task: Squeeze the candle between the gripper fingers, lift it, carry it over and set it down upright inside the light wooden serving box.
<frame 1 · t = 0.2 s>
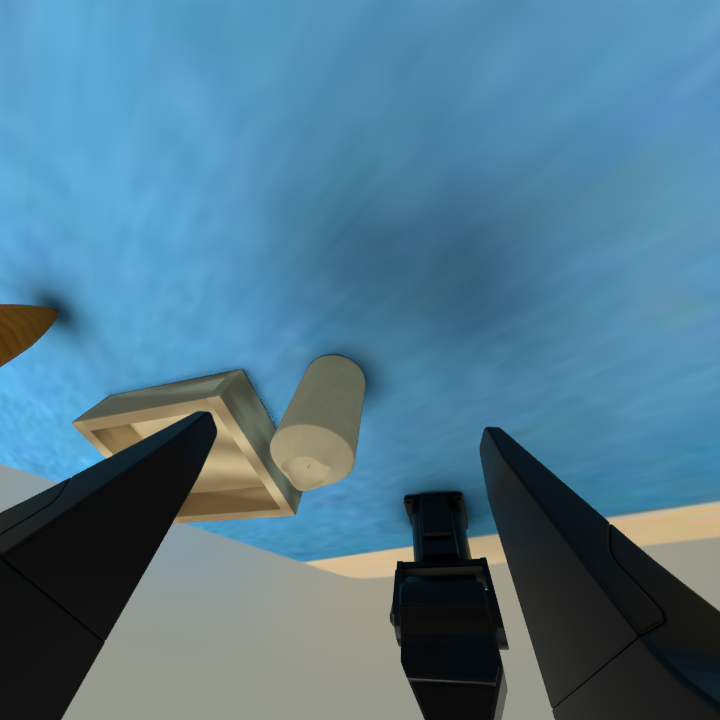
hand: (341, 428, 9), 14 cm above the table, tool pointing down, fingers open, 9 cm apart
carrot: (58, 310, 25), on the table
candle: (335, 379, 26), on the table
serving box: (213, 441, 31), on the table
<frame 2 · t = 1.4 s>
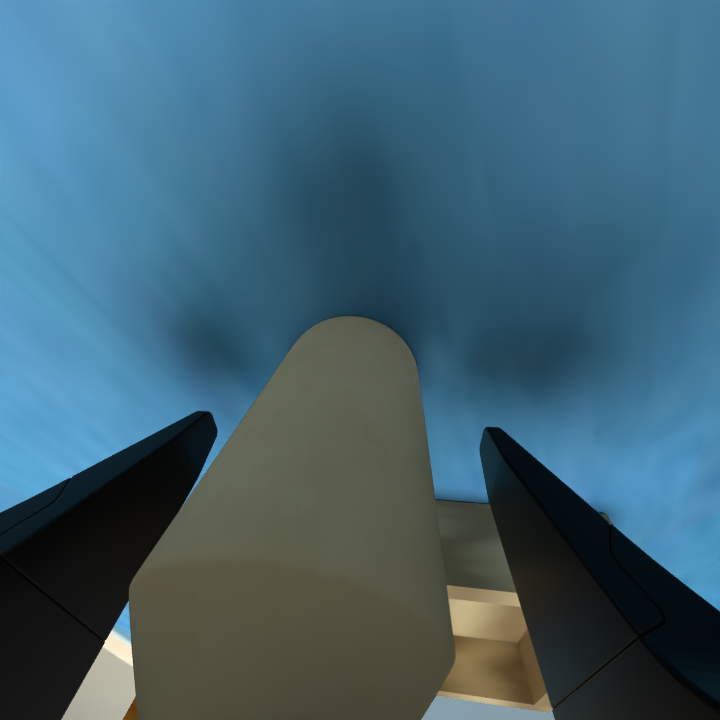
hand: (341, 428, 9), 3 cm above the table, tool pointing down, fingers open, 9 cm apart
candle: (353, 371, 12), on the table
serving box: (432, 573, 20), on the table
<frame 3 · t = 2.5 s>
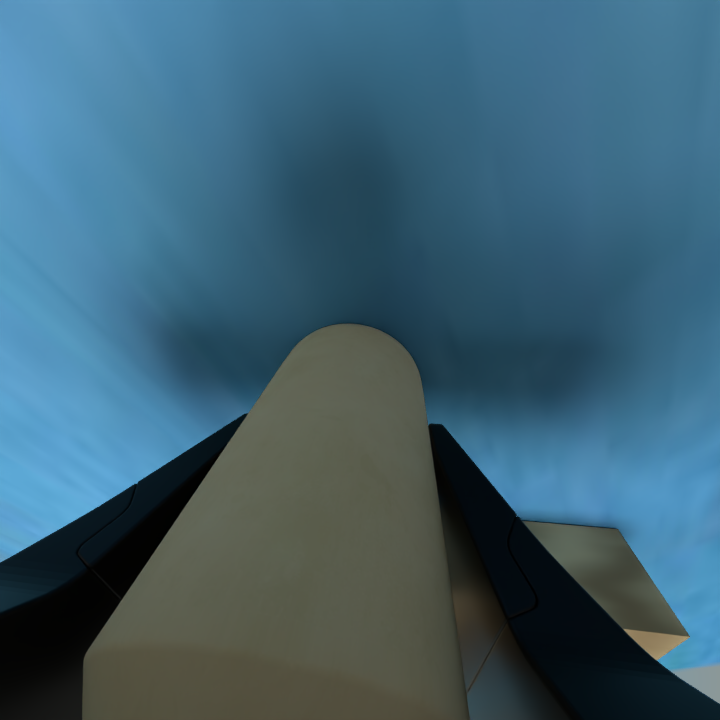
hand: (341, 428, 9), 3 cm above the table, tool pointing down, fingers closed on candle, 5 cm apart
candle: (352, 381, 12), on the table, touching gripper
serving box: (435, 586, 19), on the table
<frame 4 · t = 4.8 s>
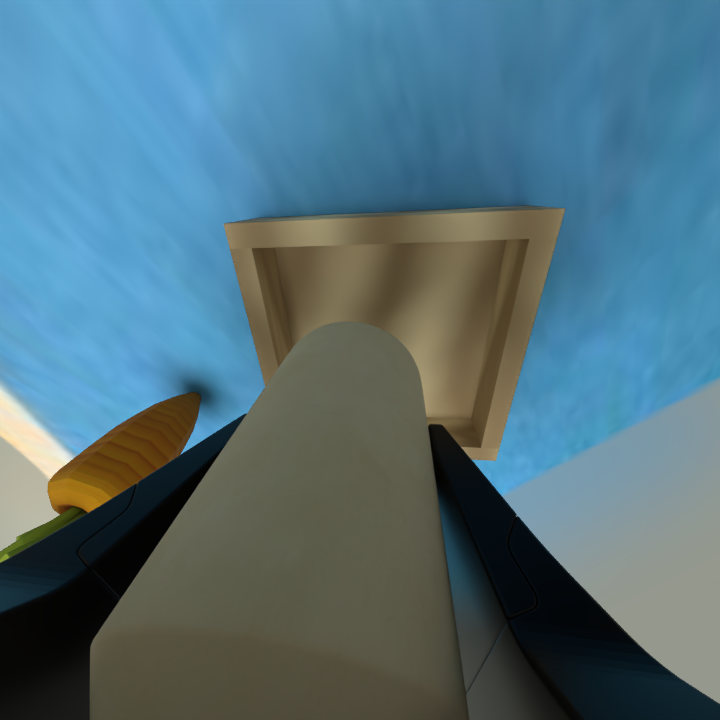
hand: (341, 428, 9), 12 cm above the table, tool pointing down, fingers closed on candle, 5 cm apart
carrot: (199, 392, 26), on the table
candle: (352, 379, 12), point 9 cm above the table, touching gripper
serving box: (385, 335, 21), on the table
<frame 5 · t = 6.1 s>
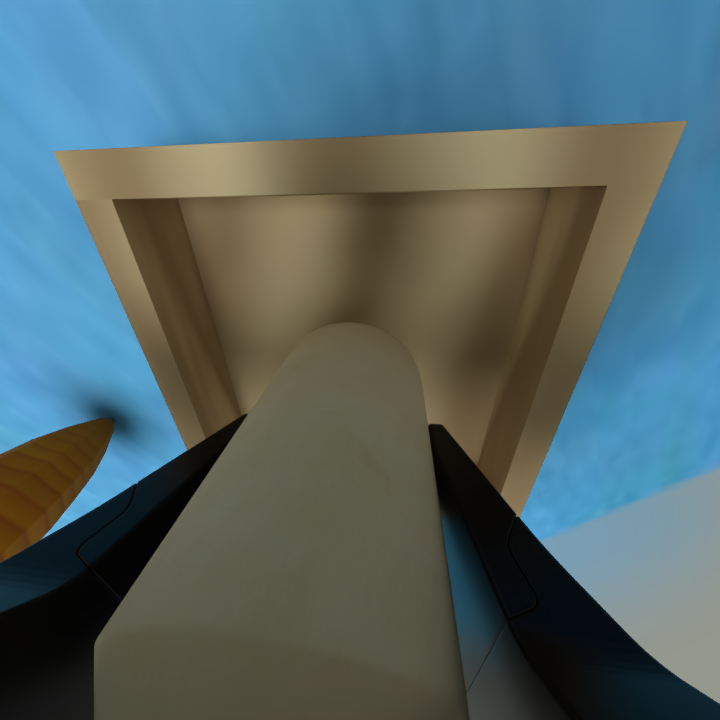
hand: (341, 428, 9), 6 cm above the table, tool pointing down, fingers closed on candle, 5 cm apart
carrot: (113, 418, 19), on the table
candle: (353, 380, 12), point 3 cm above the table, touching gripper
serving box: (359, 348, 15), on the table
when the fingers open (5 cm above the table, at t = 7.2 s): candle drops 1 cm, resting on serving box.
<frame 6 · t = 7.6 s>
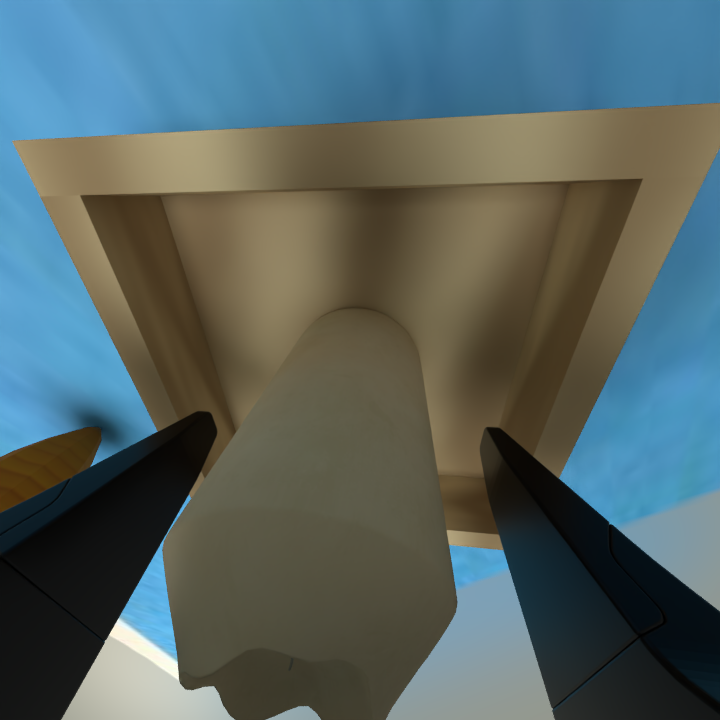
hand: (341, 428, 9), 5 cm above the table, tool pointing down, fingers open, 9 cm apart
carrot: (101, 426, 19), on the table
candle: (358, 362, 13), point 1 cm above the table, touching serving box
serving box: (358, 355, 14), on the table
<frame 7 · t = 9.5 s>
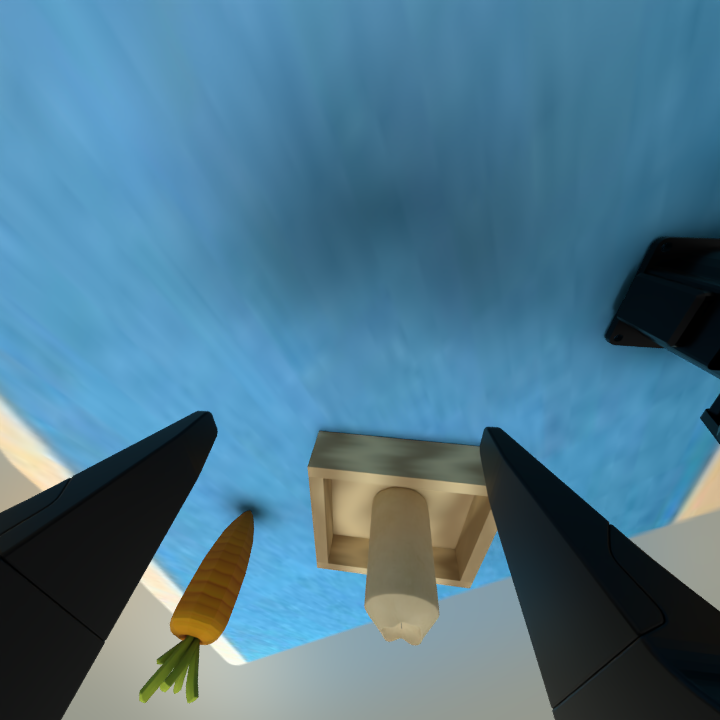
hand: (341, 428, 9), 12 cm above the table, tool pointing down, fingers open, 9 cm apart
carrot: (250, 509, 34), on the table
candle: (399, 502, 29), point 1 cm above the table, touching serving box
serving box: (398, 495, 29), on the table
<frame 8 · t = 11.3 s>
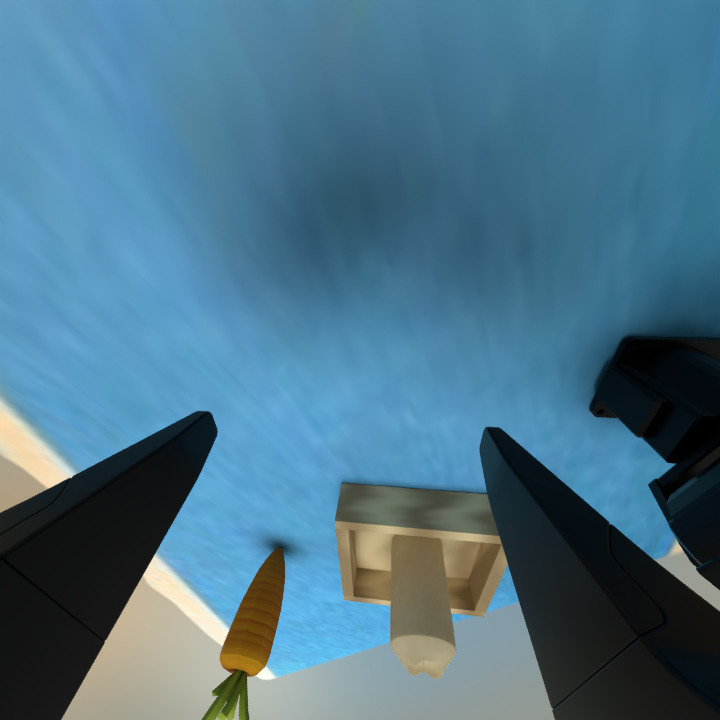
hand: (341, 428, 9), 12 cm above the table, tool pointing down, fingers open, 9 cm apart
carrot: (280, 545, 37), on the table
candle: (416, 541, 32), point 1 cm above the table, touching serving box
serving box: (414, 534, 33), on the table
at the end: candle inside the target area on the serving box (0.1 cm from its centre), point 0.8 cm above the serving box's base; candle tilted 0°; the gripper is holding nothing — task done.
